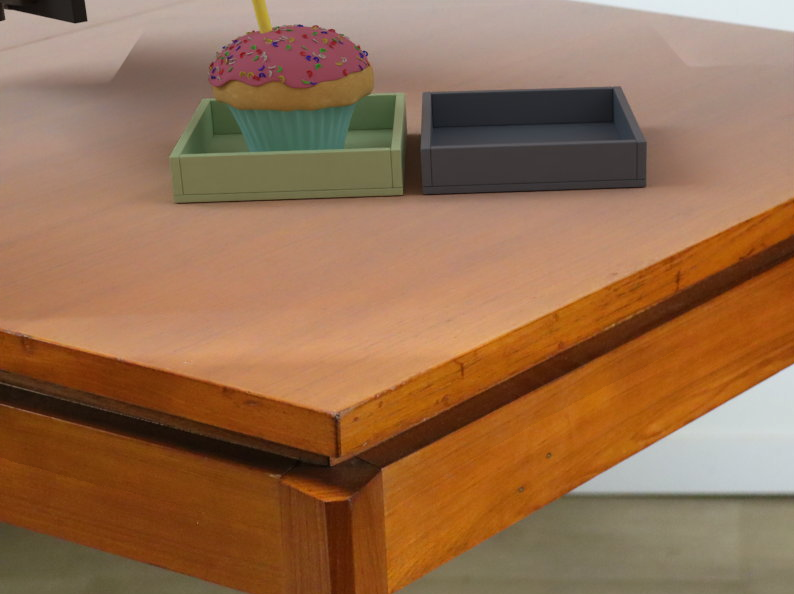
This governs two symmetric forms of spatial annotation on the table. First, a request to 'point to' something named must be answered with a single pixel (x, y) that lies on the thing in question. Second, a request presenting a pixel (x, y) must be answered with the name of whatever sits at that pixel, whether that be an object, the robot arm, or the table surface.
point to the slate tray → (530, 140)
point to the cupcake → (291, 85)
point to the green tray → (291, 158)
